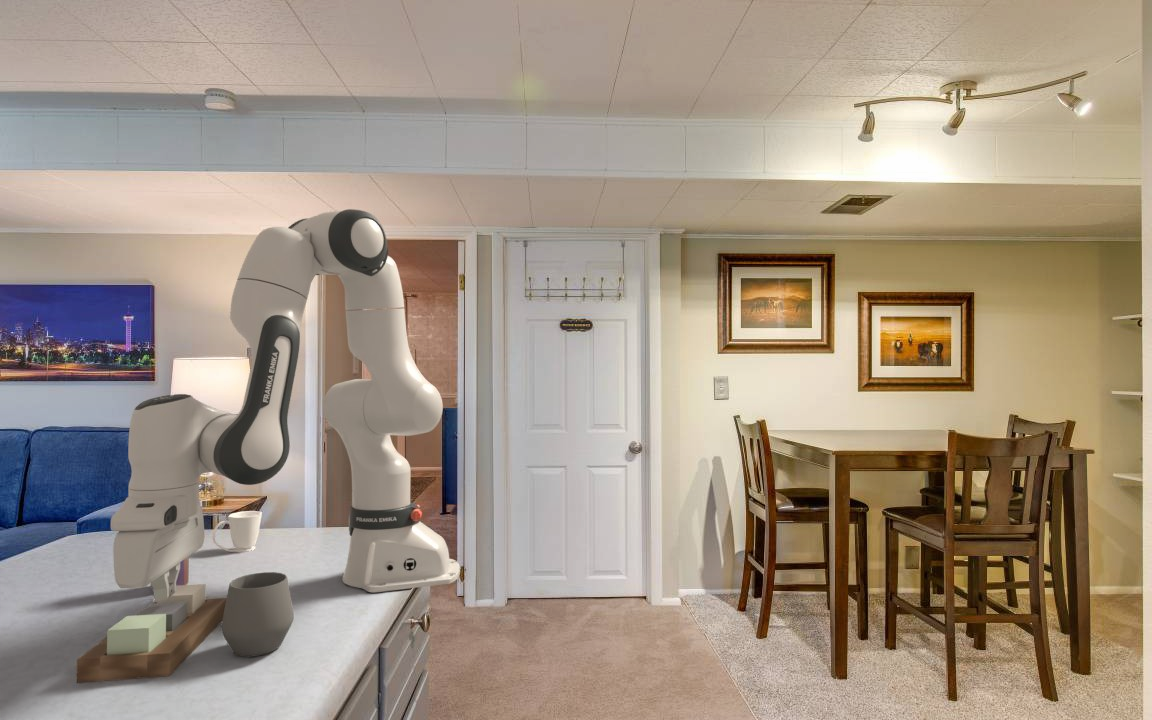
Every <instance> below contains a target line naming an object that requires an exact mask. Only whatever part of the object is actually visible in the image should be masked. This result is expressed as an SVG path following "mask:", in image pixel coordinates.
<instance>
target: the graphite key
mask: <svg viewBox="0 0 1152 720" xmlns="http://www.w3.org/2000/svg"><path fill="white" fill-rule="evenodd" d="M154 614H166V632H168V631H174V630H175V629H176V628H178V627H179V626H180V625H181V624H182V623H183V622H184V621H185V620H186V619H187V602H176V603H157V604H152V603H150V604H149V605H147V606H146V607H145V608H143V609H142V610H141V611H140V612H138V613H137V614H135V615H134V616H137V615H154Z"/></svg>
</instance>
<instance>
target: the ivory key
mask: <svg viewBox="0 0 1152 720" xmlns="http://www.w3.org/2000/svg"><path fill="white" fill-rule="evenodd" d="M206 586H207V585H206V583H203V584H200V583H199V584H187V585H177V586H176V592H175V593H174V594H172V595H171V596H170V597H169V598H168V599H166V600H164V601H157V603H176V602H187V613H194V612H195V611H196V610H198V609H199V608H200V607H201V606H202V605H203V604H204V603H205V599H206Z"/></svg>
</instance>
